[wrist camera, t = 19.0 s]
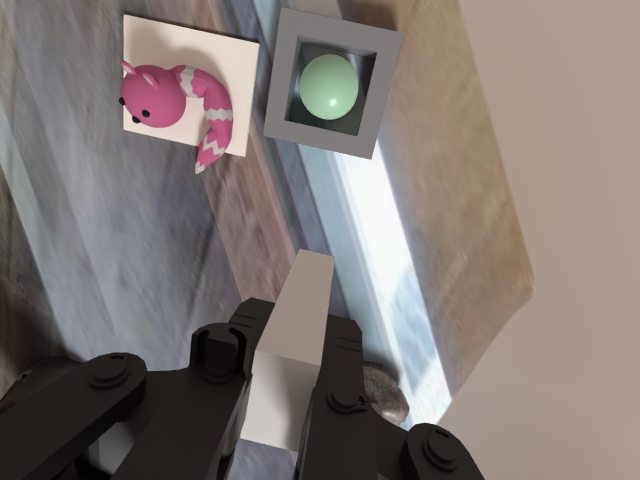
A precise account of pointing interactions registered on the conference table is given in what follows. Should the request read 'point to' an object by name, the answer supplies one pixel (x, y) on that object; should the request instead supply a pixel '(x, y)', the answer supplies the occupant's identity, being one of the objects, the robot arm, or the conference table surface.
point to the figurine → (384, 393)
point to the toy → (179, 103)
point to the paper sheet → (200, 52)
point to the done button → (329, 87)
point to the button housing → (341, 38)
